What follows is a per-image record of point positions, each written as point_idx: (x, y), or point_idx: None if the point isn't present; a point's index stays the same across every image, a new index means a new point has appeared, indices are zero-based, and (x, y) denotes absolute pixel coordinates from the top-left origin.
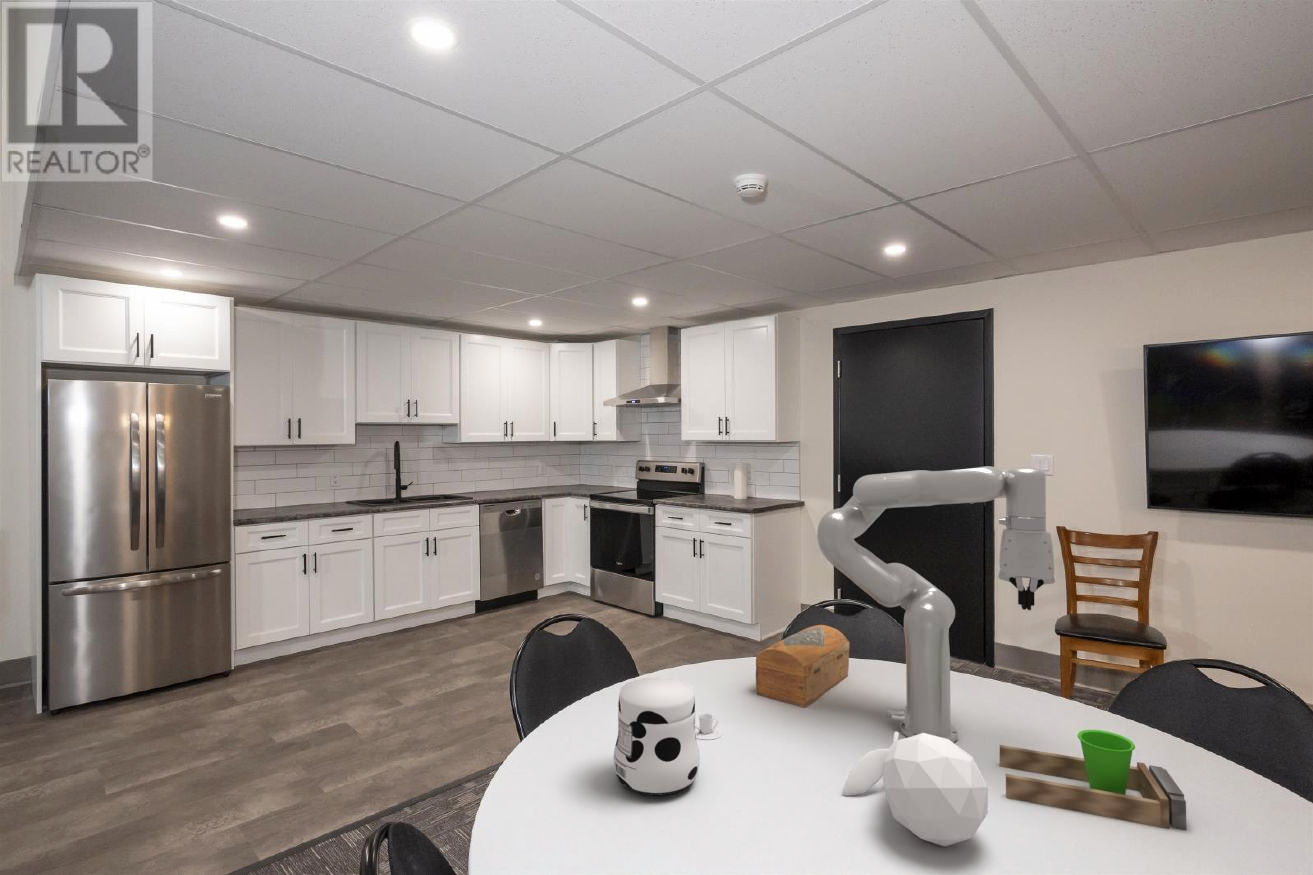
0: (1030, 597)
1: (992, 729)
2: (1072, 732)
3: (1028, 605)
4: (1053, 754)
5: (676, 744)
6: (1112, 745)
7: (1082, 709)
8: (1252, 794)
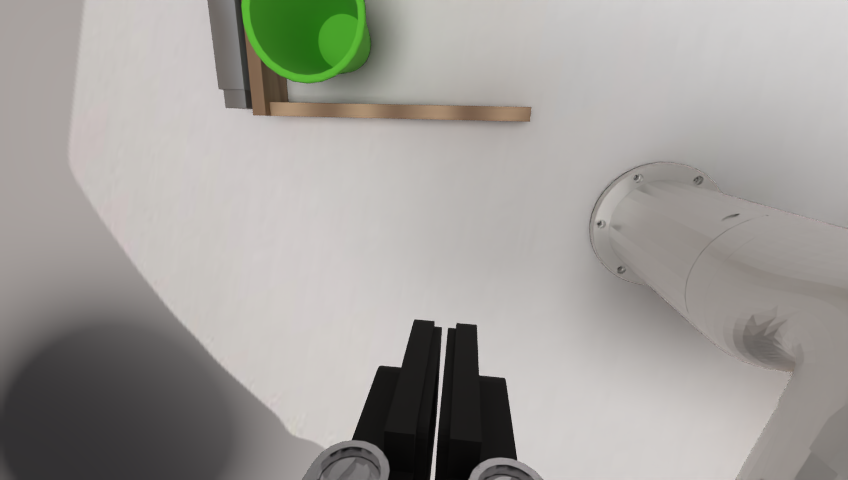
0: (402, 386)
1: (507, 291)
2: (360, 325)
3: (431, 337)
4: (420, 112)
5: None
6: (294, 68)
7: (327, 433)
8: (126, 167)
